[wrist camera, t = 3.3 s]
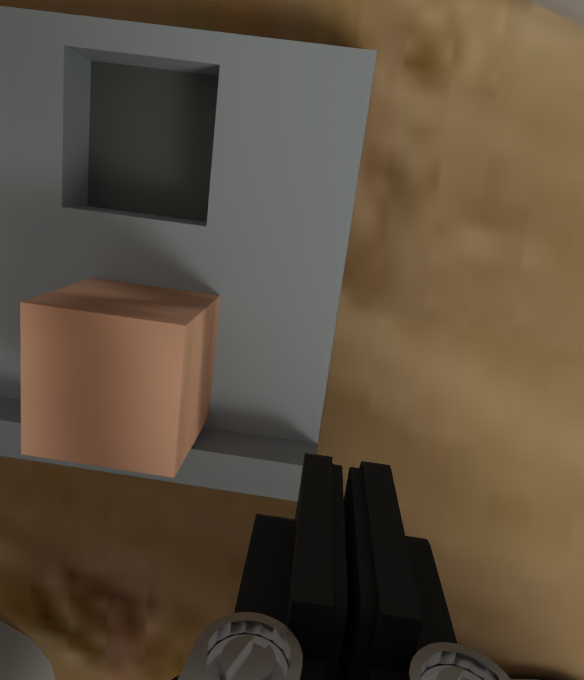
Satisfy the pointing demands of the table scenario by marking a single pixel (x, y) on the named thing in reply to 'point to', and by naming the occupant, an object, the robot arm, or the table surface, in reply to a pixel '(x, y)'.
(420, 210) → the table surface
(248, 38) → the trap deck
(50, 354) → the block
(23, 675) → the cup
